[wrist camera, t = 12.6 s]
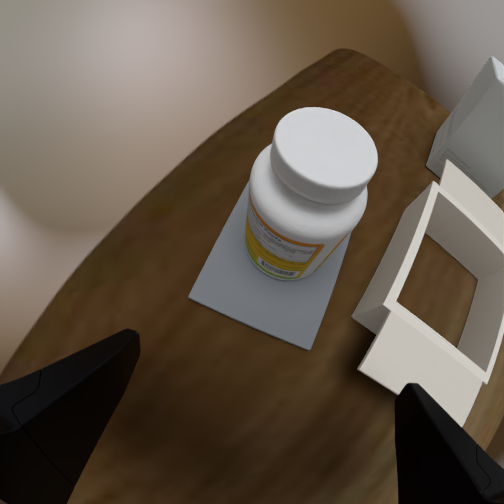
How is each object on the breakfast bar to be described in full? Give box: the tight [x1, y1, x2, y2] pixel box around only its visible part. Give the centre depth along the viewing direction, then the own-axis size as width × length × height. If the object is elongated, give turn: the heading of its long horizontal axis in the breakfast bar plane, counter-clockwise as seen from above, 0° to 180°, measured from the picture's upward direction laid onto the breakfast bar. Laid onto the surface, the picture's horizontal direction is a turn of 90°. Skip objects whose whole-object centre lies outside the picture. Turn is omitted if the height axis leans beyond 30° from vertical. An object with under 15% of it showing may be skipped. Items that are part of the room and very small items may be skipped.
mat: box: [188, 180, 352, 350], centre depth 19 cm, size 12×8×1 cm, turn 156°
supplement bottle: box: [245, 107, 378, 280], centre depth 14 cm, size 5×5×10 cm
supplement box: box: [426, 56, 504, 199], centre depth 18 cm, size 7×7×13 cm
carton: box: [351, 159, 504, 427], centre depth 17 cm, size 17×10×4 cm, turn 144°
